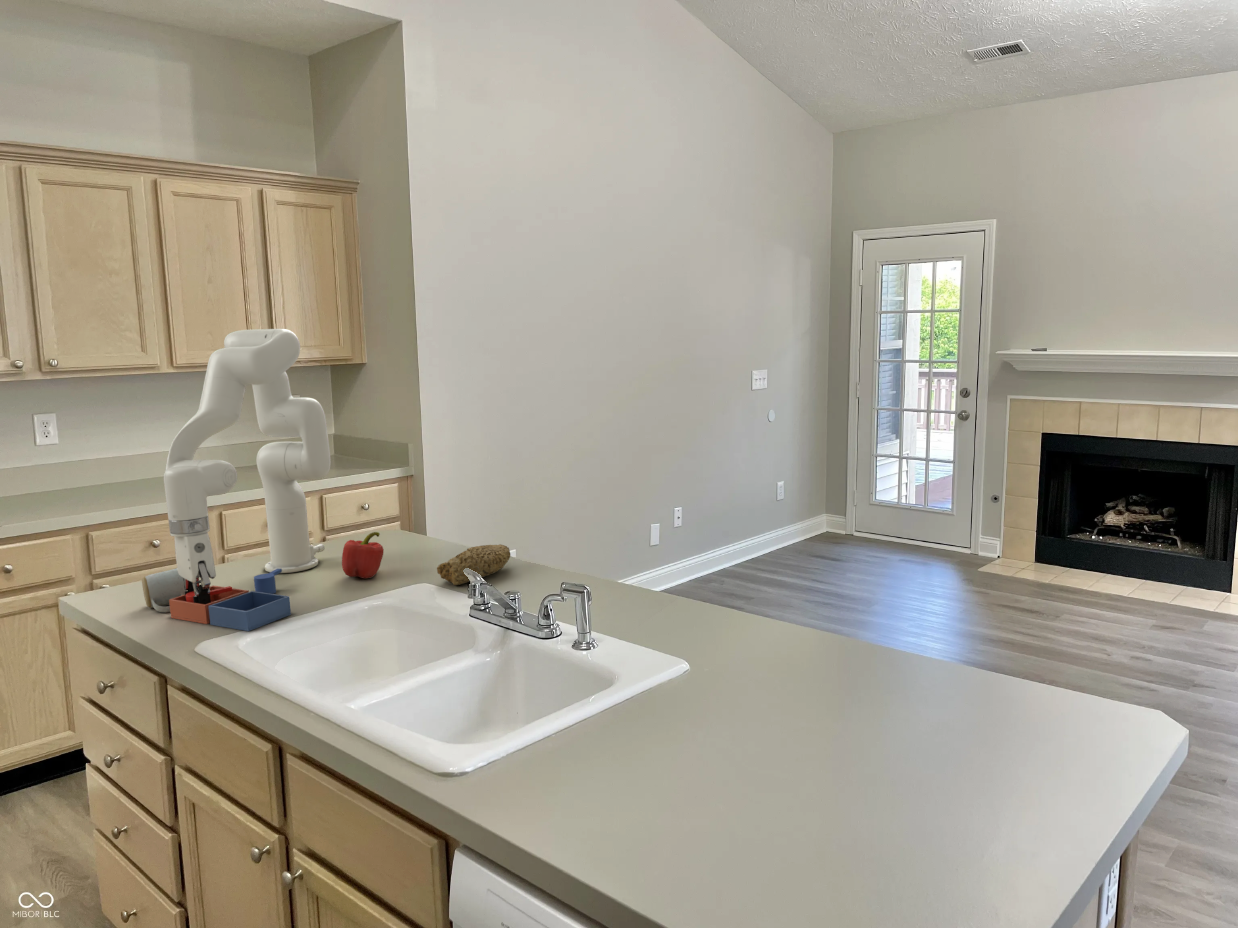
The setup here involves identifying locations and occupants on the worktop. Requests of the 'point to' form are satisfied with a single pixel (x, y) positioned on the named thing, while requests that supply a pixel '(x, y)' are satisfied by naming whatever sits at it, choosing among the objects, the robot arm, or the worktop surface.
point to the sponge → (474, 562)
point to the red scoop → (212, 592)
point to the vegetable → (362, 557)
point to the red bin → (199, 606)
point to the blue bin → (249, 610)
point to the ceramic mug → (162, 589)
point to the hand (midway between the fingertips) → (199, 609)
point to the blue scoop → (266, 582)
